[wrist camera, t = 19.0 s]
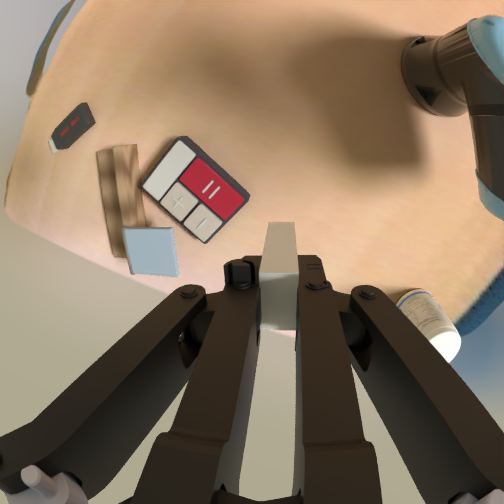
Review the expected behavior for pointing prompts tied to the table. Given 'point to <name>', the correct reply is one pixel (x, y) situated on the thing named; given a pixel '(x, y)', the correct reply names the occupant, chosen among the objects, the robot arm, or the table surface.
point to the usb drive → (71, 128)
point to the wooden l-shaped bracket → (121, 193)
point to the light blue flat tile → (151, 250)
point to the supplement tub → (431, 321)
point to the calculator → (195, 189)
